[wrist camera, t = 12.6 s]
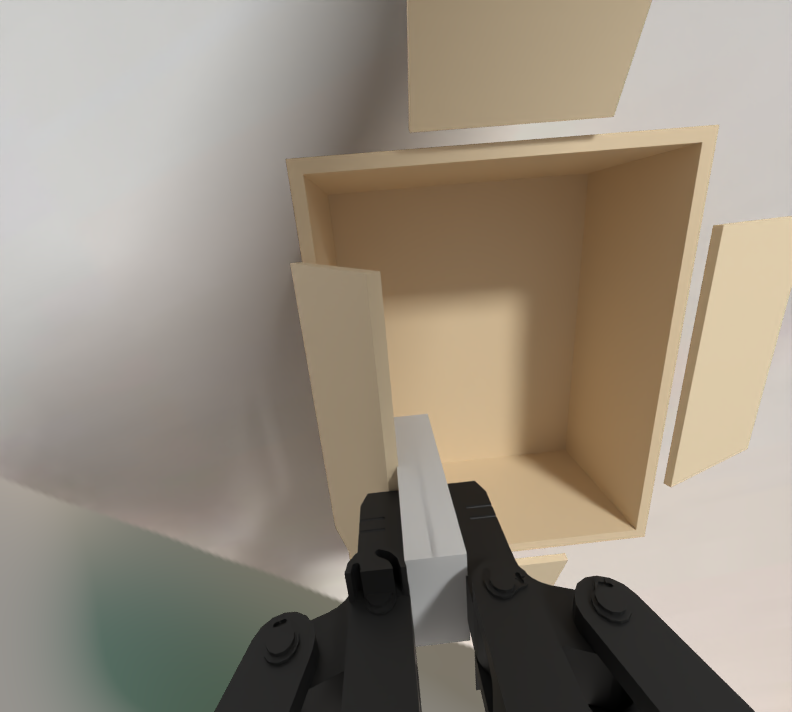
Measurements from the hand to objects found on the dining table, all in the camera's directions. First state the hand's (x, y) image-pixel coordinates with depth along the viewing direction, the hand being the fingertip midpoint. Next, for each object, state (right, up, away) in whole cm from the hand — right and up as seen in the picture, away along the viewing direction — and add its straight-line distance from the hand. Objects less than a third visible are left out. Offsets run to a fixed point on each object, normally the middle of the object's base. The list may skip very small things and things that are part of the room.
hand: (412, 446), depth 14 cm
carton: (+4, +5, +12) cm, 14 cm away
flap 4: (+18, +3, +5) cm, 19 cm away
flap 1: (-2, 0, 0) cm, 2 cm away
